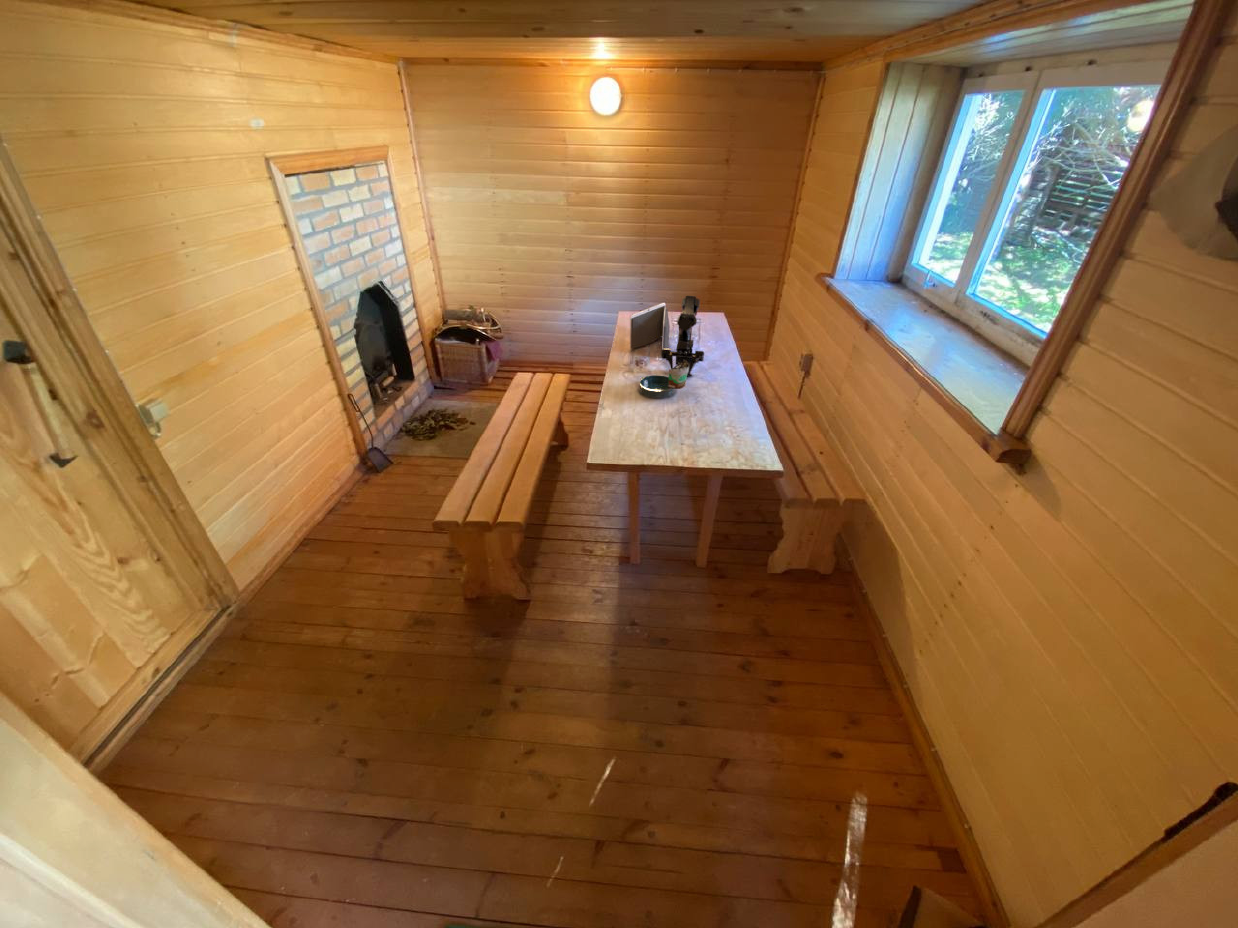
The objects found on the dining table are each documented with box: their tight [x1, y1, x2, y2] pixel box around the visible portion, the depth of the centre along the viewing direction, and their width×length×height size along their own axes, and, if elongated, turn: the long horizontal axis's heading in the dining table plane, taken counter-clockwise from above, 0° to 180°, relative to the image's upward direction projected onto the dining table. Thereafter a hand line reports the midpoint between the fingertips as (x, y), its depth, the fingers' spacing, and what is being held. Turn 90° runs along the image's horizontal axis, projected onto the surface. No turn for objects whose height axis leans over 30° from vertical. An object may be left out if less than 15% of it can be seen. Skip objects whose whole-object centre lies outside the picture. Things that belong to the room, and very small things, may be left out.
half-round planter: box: [667, 360, 690, 390], centre depth 228 cm, size 12×6×10 cm, turn 140°
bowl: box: [638, 374, 677, 399], centre depth 240 cm, size 17×17×4 cm
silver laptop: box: [629, 302, 671, 350], centre depth 282 cm, size 35×22×20 cm, turn 176°
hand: (680, 373), depth 226 cm, fingers closed on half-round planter, 7 cm apart
